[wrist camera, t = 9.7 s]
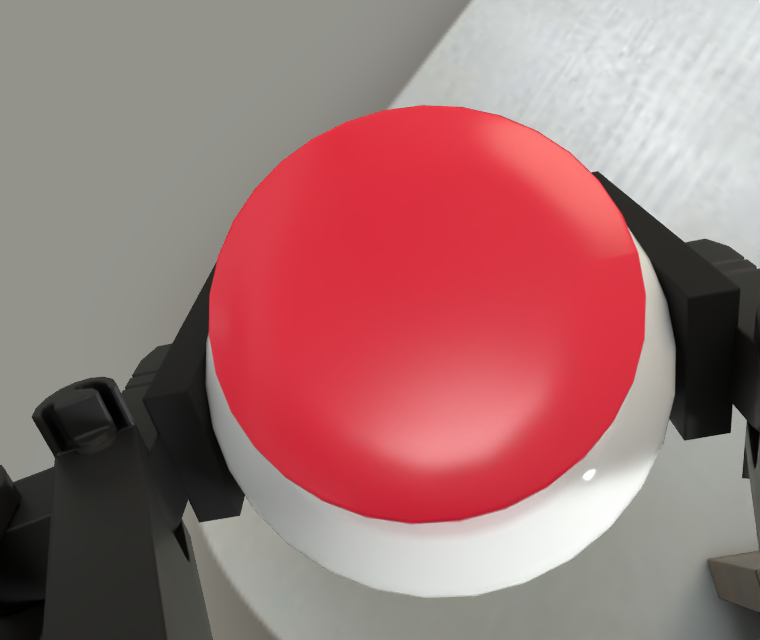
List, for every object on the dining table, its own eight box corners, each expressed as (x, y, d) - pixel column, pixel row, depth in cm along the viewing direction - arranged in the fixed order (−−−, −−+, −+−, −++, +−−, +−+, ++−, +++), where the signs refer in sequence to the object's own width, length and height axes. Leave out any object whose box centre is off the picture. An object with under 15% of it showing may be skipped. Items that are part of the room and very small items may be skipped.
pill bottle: (301, 313, 20) (114, 98, 9) (548, 265, 19) (646, -22, 9) (333, 575, 18) (133, 682, 7) (615, 532, 17) (857, 577, 6)
